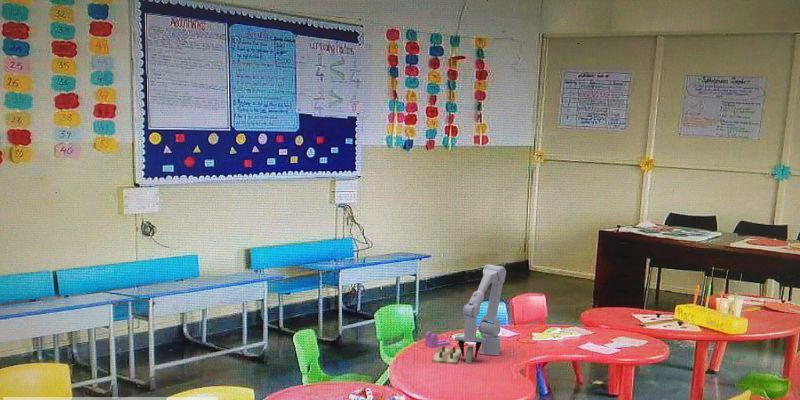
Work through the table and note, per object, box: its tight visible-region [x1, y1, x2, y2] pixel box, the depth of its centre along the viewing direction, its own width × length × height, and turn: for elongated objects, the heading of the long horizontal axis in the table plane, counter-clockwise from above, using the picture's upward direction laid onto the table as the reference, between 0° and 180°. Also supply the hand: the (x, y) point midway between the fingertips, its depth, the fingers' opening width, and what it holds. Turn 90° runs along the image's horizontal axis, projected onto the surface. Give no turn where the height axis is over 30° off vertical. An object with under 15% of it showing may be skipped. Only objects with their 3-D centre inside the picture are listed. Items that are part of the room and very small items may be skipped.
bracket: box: [425, 331, 451, 349], centre depth 378 cm, size 13×6×7 cm, turn 123°
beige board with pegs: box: [431, 345, 462, 365], centre depth 358 cm, size 12×20×4 cm, turn 168°
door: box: [465, 344, 474, 364], centre depth 354 cm, size 2×10×6 cm, turn 169°
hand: (469, 356), depth 354 cm, fingers open, 6 cm apart
